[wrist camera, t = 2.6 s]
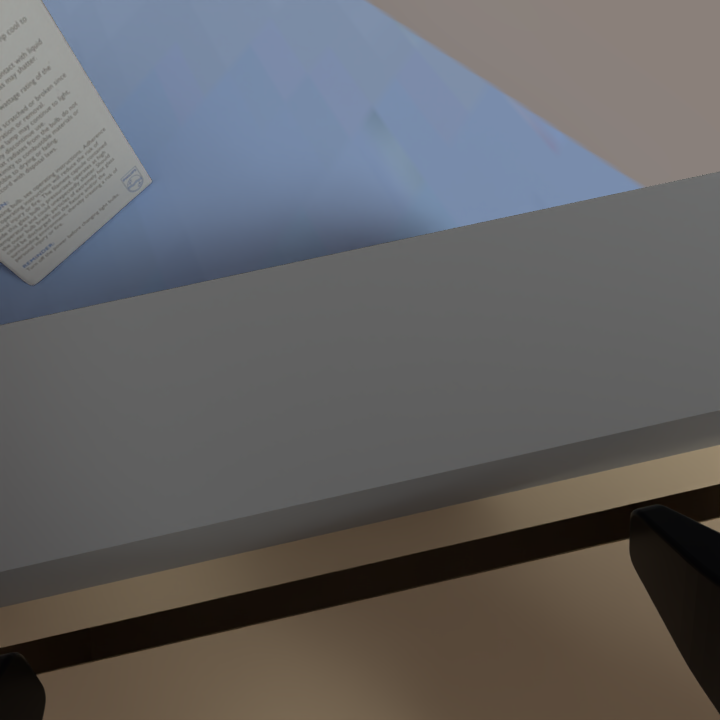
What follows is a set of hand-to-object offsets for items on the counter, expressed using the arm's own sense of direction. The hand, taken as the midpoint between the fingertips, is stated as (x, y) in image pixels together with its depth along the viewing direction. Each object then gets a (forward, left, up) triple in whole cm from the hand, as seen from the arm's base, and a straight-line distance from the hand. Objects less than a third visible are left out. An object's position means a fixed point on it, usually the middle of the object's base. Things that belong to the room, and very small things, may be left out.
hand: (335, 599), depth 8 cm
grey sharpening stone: (+4, 0, -3) cm, 5 cm away
